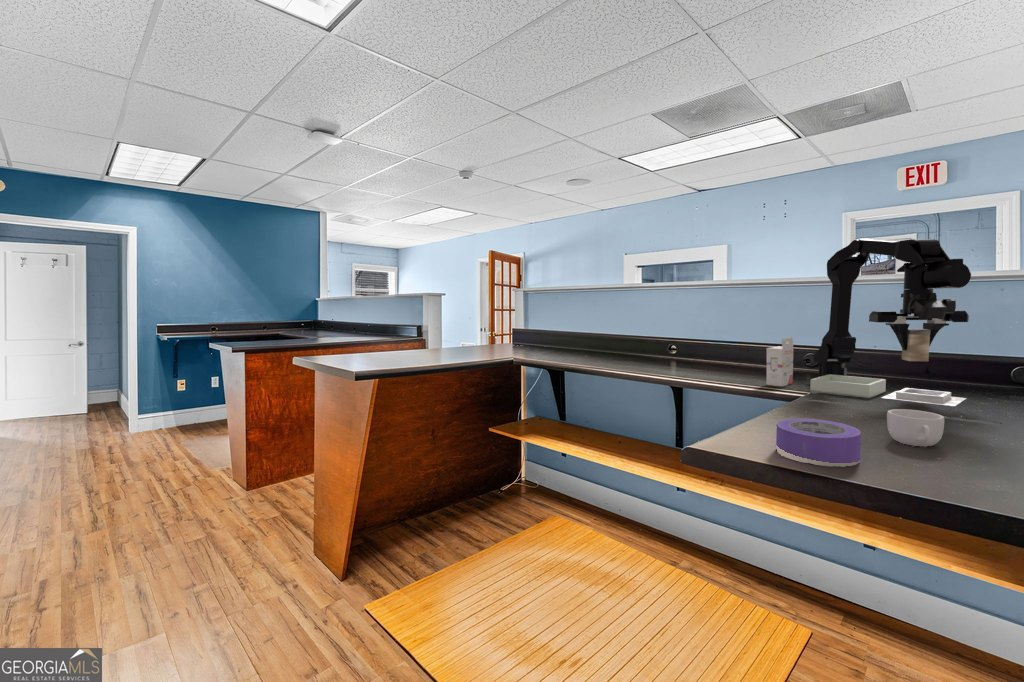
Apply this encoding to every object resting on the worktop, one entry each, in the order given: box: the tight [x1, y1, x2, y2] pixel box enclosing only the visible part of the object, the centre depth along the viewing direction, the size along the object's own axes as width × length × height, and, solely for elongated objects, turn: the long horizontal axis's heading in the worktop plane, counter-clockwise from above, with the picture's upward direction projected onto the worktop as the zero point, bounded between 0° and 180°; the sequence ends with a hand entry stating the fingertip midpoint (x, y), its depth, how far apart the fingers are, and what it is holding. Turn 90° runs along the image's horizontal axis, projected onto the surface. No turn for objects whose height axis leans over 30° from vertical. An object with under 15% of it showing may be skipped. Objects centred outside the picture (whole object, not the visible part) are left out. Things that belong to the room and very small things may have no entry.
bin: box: [809, 374, 887, 399], centre depth 129 cm, size 14×14×4 cm
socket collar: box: [880, 387, 967, 407], centre depth 118 cm, size 14×14×2 cm
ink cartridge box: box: [765, 336, 794, 388], centre depth 145 cm, size 9×5×15 cm, turn 129°
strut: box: [901, 328, 930, 362], centre depth 119 cm, size 4×4×8 cm
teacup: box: [886, 408, 945, 447], centre depth 82 cm, size 10×8×5 cm
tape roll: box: [775, 418, 862, 463], centre depth 77 cm, size 12×12×5 cm
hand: (914, 350), depth 119 cm, fingers closed on strut, 4 cm apart
